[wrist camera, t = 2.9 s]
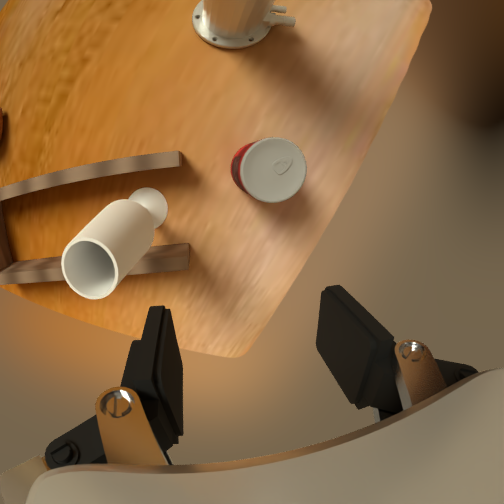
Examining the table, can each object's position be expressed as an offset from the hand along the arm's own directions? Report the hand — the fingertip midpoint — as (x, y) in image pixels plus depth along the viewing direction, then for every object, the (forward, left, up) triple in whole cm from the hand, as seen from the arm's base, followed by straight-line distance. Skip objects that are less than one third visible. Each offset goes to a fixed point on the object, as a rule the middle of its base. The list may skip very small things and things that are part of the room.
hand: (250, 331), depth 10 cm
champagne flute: (+10, 0, -33) cm, 34 cm away
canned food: (-7, -5, -33) cm, 34 cm away
